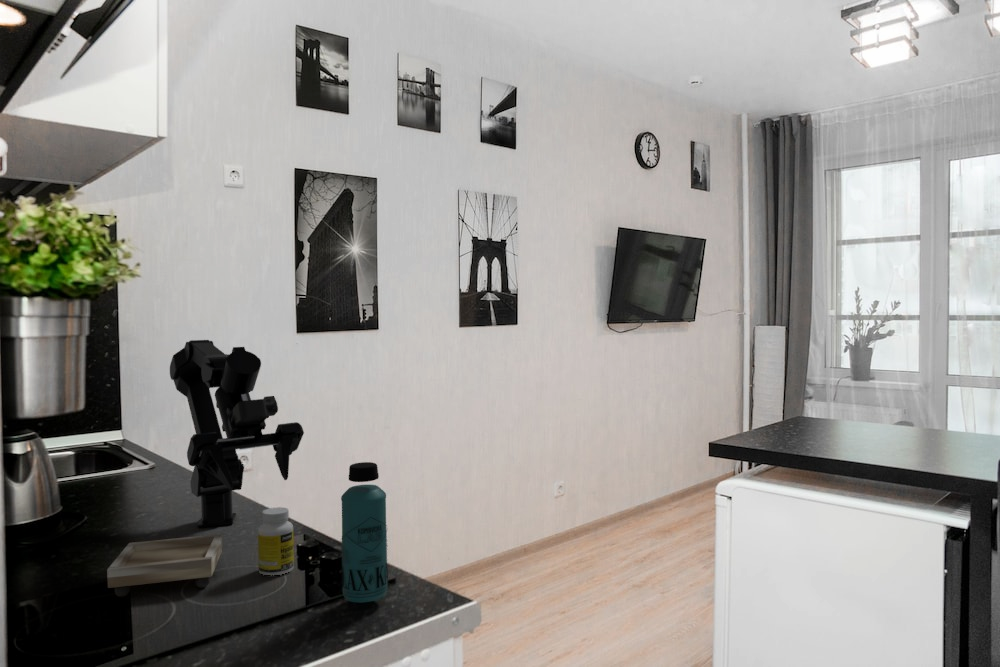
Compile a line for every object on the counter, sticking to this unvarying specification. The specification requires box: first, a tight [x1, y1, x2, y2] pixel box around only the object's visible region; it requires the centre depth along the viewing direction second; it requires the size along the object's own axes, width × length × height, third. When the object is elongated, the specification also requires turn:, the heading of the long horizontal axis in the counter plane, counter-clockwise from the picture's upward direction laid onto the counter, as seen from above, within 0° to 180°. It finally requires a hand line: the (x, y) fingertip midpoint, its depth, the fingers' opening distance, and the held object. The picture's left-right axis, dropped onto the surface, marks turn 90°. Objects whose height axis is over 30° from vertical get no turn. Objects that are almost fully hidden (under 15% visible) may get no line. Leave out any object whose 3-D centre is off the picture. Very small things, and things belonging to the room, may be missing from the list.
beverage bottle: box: [340, 461, 389, 603], centre depth 96 cm, size 6×7×20 cm
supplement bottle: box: [257, 506, 295, 577], centre depth 110 cm, size 5×5×10 cm
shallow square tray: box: [106, 533, 223, 598], centre depth 107 cm, size 12×14×5 cm
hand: (259, 483), depth 115 cm, fingers open, 9 cm apart
